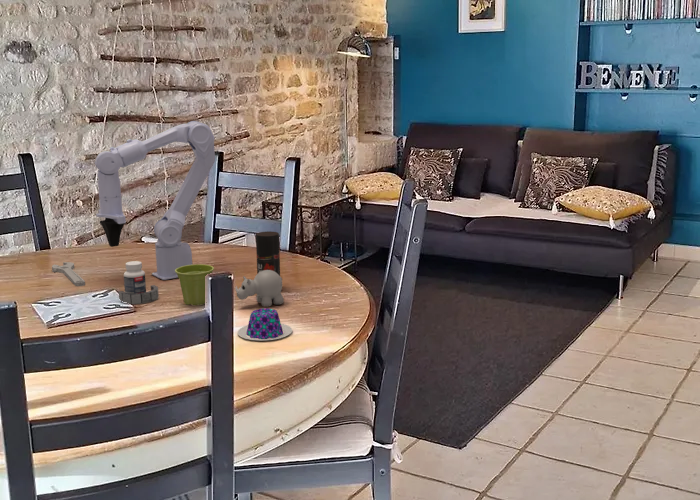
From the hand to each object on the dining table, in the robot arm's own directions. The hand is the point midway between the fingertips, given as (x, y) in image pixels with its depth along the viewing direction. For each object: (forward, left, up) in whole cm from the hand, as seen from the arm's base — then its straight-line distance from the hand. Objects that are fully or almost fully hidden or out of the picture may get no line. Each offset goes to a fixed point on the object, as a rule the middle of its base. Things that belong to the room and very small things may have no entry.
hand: (114, 245), depth 216 cm
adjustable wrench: (+9, -14, -10) cm, 20 cm away
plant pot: (-8, +32, -10) cm, 35 cm away
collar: (+2, +22, -10) cm, 24 cm away
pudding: (-9, +63, -10) cm, 64 cm away
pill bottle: (+2, +18, -10) cm, 20 cm away
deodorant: (-28, +34, -10) cm, 45 cm away
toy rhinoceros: (-19, +44, -10) cm, 49 cm away
